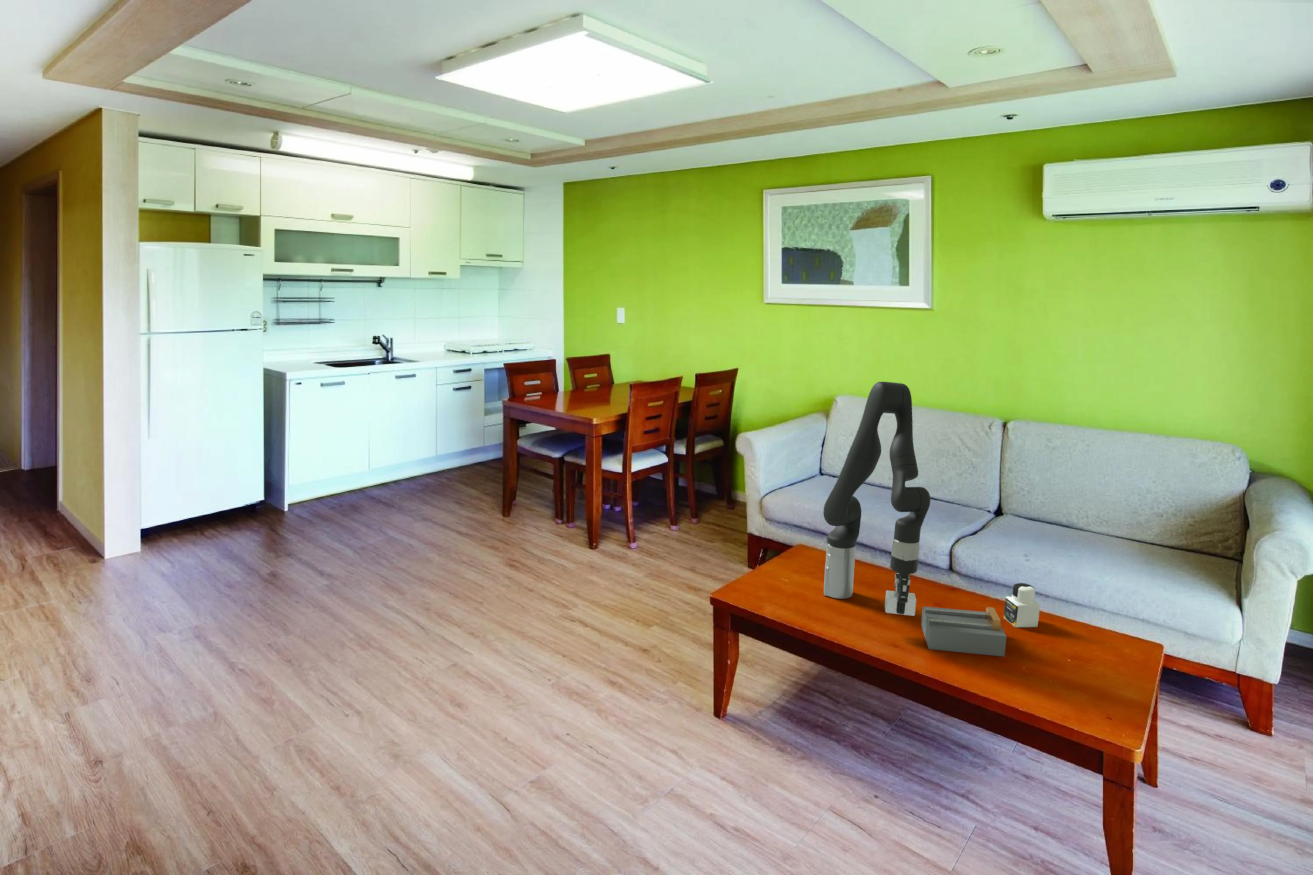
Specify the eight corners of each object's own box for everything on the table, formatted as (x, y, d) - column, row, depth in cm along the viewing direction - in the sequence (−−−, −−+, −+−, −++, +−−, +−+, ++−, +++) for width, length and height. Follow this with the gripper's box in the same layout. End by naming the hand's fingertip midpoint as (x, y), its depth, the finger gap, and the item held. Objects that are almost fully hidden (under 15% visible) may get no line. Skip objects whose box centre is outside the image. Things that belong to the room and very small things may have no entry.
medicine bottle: (1002, 617, 239) (1006, 581, 236) (1024, 617, 239) (1029, 580, 237) (1015, 627, 232) (1019, 590, 229) (1038, 627, 232) (1042, 589, 230)
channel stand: (928, 648, 217) (931, 618, 215) (921, 624, 233) (923, 596, 231) (1004, 656, 213) (1007, 626, 212) (991, 631, 229) (994, 603, 227)
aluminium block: (885, 612, 224) (887, 596, 223) (884, 606, 228) (886, 590, 227) (914, 615, 222) (916, 599, 221) (912, 609, 226) (914, 593, 225)
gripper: (889, 544, 229) (884, 598, 233) (893, 561, 215) (887, 618, 219) (916, 547, 227) (910, 601, 231) (921, 564, 214) (915, 621, 217)
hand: (899, 609), depth 225 cm, fingers closed on aluminium block, 4 cm apart
